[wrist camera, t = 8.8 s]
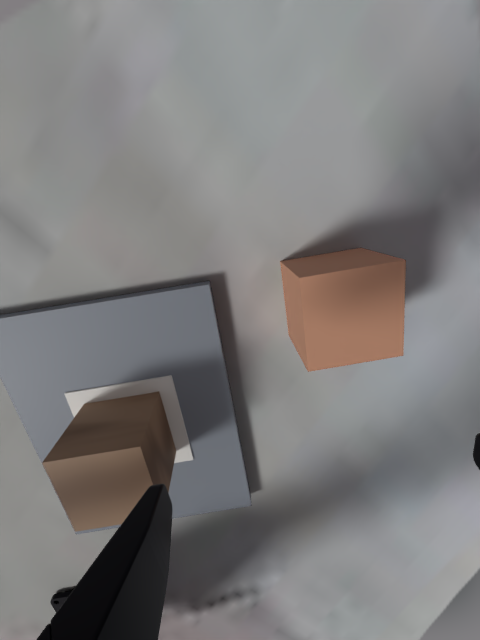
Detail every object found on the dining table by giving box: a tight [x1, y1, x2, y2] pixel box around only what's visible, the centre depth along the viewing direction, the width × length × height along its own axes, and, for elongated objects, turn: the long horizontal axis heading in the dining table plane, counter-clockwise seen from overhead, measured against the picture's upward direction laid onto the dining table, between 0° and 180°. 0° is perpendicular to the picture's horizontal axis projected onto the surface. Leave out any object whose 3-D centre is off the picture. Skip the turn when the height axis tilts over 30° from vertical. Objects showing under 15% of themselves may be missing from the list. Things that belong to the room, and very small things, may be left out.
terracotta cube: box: [280, 248, 406, 372], centre depth 17 cm, size 5×5×5 cm
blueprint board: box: [0, 281, 252, 534], centre depth 21 cm, size 18×14×1 cm
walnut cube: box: [42, 392, 176, 532], centre depth 19 cm, size 5×5×5 cm
